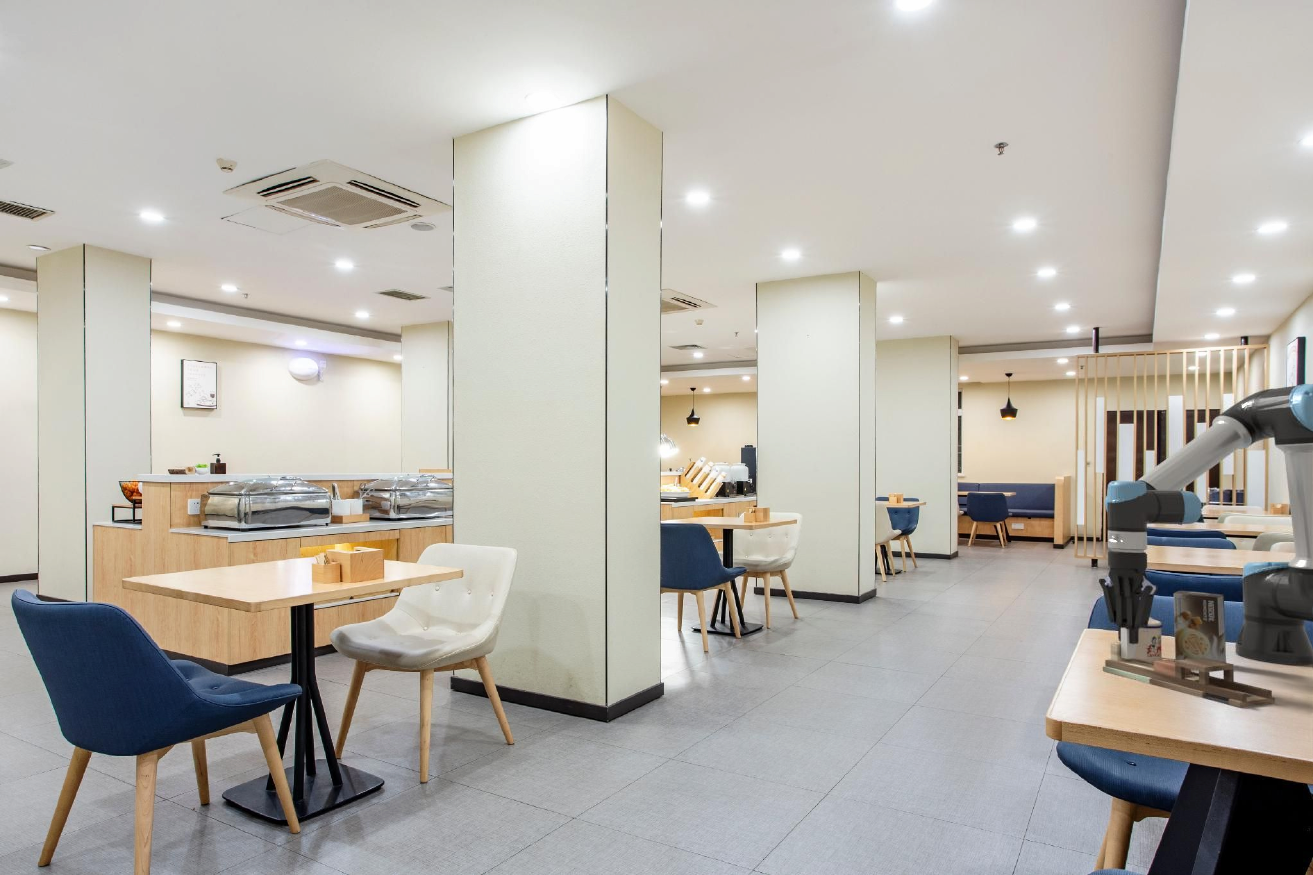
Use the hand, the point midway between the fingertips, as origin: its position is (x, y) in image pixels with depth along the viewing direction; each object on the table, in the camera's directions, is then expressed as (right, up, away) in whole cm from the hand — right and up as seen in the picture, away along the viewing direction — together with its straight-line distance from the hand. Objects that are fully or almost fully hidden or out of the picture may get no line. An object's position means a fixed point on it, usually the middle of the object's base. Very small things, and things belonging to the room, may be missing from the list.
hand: (1128, 657), depth 175 cm
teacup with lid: (+11, -4, +13) cm, 18 cm away
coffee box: (+23, -4, +10) cm, 25 cm away
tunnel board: (+4, -3, -11) cm, 12 cm away
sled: (+2, -2, -6) cm, 7 cm away
